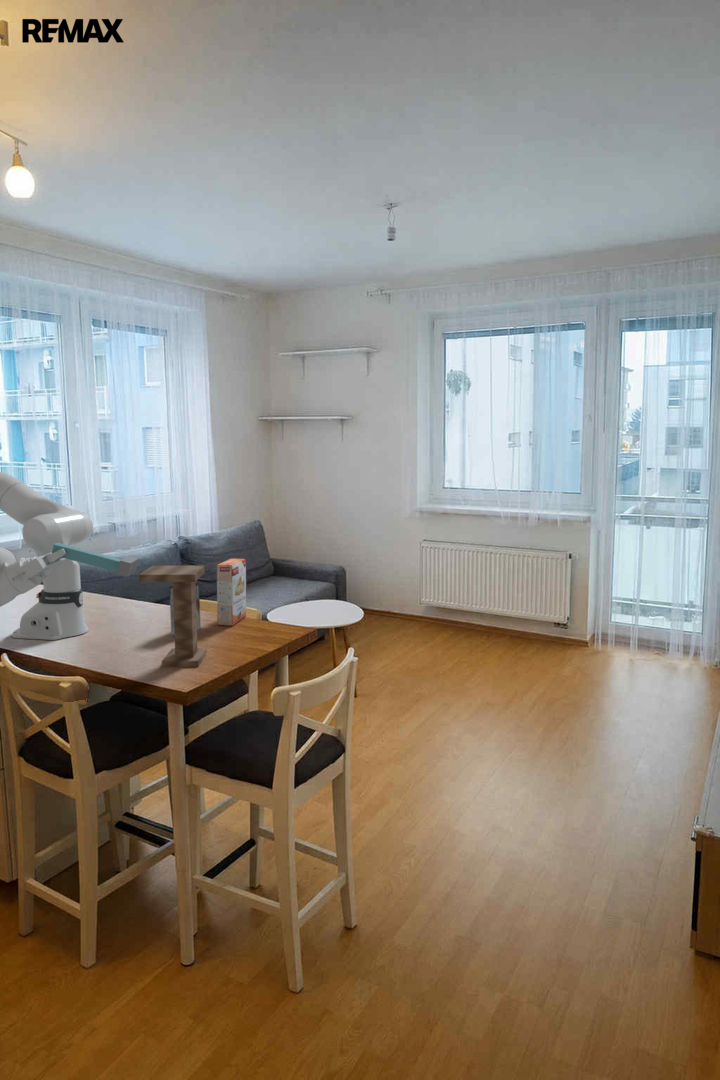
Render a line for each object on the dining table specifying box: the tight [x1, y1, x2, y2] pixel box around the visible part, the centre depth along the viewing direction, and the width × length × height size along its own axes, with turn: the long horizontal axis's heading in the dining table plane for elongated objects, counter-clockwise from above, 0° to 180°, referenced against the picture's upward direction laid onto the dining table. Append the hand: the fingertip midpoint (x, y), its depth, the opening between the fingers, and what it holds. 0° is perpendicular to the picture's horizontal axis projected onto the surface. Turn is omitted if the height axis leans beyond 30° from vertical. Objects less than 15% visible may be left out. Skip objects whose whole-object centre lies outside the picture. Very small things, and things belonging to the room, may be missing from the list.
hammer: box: [52, 543, 140, 578], centre depth 202 cm, size 22×8×4 cm, turn 91°
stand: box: [138, 565, 207, 668], centre depth 205 cm, size 15×14×26 cm
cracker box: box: [216, 558, 247, 627], centre depth 249 cm, size 14×6×21 cm, turn 170°
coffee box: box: [168, 581, 202, 636], centre depth 235 cm, size 9×6×16 cm
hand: (68, 549), depth 201 cm, fingers closed on hammer, 3 cm apart
